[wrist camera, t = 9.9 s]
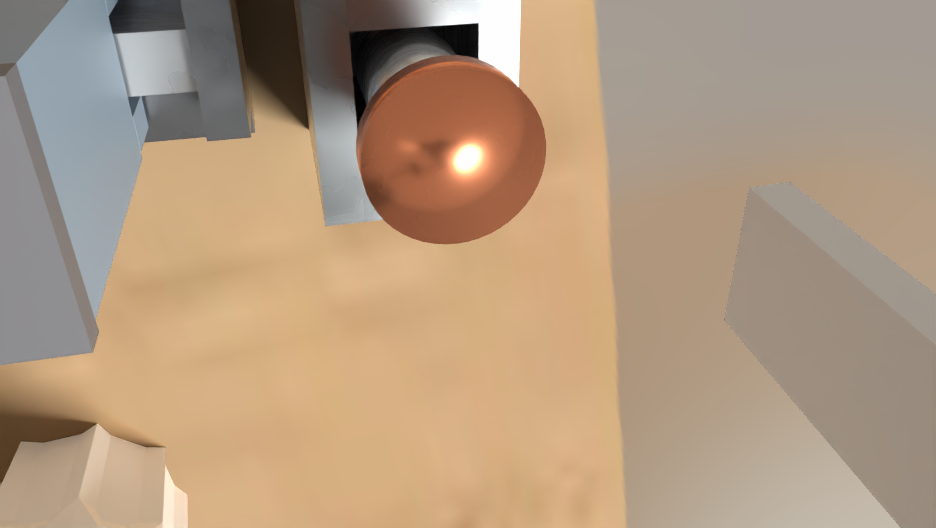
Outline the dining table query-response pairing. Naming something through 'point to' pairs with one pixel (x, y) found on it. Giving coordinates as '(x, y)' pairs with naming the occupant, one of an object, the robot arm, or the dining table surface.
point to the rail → (209, 74)
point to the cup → (90, 485)
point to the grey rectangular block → (61, 172)
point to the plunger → (442, 137)
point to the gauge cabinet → (339, 94)
